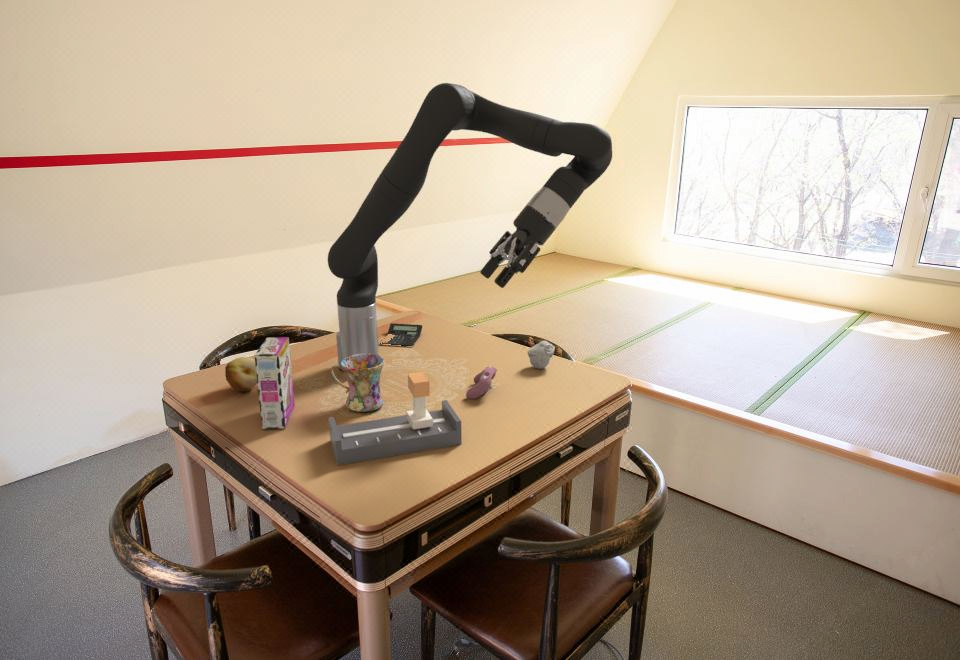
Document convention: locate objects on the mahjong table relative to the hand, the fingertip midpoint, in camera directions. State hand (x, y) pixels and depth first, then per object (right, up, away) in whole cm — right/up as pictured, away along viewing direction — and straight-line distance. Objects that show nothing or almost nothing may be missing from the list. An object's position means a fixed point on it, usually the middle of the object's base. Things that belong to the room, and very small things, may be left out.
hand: (490, 280), depth 130 cm
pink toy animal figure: (-2, -24, +22) cm, 33 cm away
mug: (-29, -27, +15) cm, 42 cm away
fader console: (-19, -32, -1) cm, 37 cm away
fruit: (-57, -24, +23) cm, 66 cm away
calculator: (-24, -13, +56) cm, 62 cm away
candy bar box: (-45, -29, +9) cm, 54 cm away
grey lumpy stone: (+13, -20, +35) cm, 42 cm away
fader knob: (-14, -28, 0) cm, 31 cm away
